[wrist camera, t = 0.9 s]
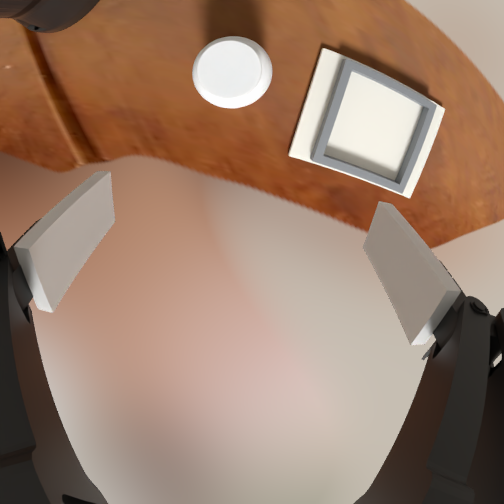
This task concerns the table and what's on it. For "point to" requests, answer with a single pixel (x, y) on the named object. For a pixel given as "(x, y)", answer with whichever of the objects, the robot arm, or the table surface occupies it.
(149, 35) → the table surface
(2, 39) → the table surface
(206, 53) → the supplement bottle
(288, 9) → the table surface
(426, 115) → the board
